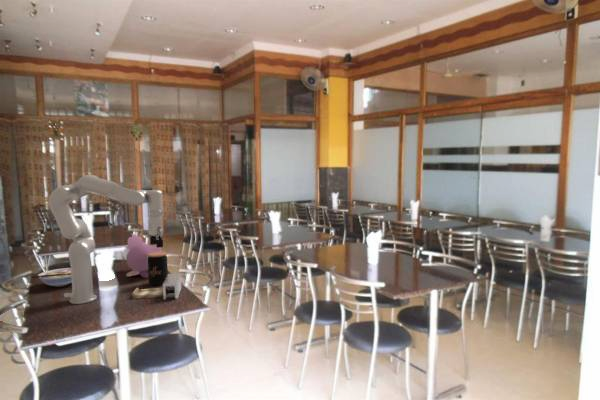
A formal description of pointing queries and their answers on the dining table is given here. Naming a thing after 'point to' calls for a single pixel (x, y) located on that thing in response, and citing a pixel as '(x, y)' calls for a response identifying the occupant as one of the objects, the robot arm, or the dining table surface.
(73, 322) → the dining table surface
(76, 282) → the robot arm
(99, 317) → the dining table surface
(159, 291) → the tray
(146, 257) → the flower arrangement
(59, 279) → the ramen bowl
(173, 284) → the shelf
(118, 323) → the dining table surface
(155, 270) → the coffee jar
